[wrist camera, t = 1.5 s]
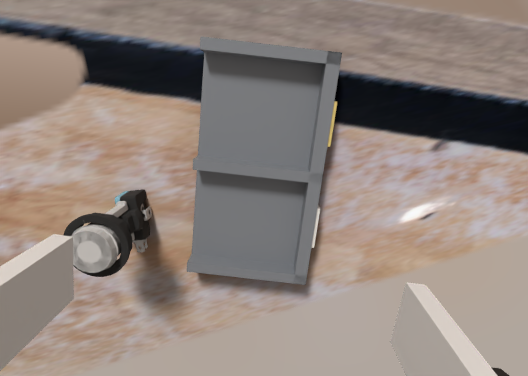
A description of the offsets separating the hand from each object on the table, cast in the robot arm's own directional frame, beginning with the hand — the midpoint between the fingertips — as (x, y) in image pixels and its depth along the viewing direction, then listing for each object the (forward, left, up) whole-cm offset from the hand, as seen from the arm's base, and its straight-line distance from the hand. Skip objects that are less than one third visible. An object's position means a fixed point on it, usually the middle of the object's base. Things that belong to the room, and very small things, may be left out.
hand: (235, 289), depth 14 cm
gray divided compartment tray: (0, +1, -22) cm, 22 cm away
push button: (-12, -6, -22) cm, 26 cm away
